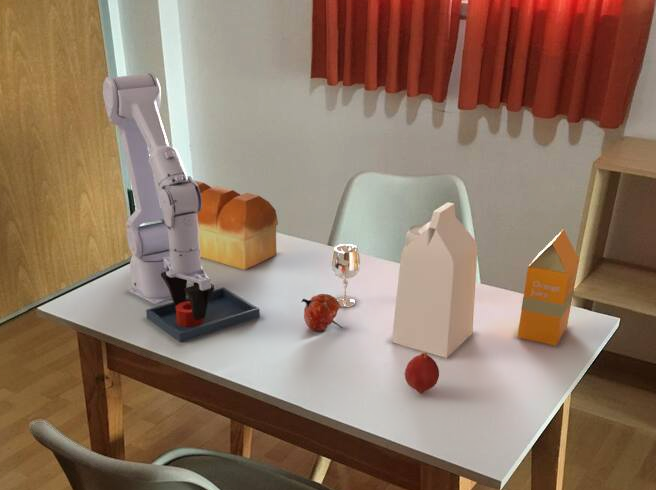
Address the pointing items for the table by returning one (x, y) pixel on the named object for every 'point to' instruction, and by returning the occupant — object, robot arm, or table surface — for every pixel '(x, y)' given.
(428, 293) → the milk
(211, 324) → the tray
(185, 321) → the ring
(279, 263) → the table surface
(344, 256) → the wineglass
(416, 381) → the onion
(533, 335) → the orange juice
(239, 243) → the bread
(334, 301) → the pomegranate
